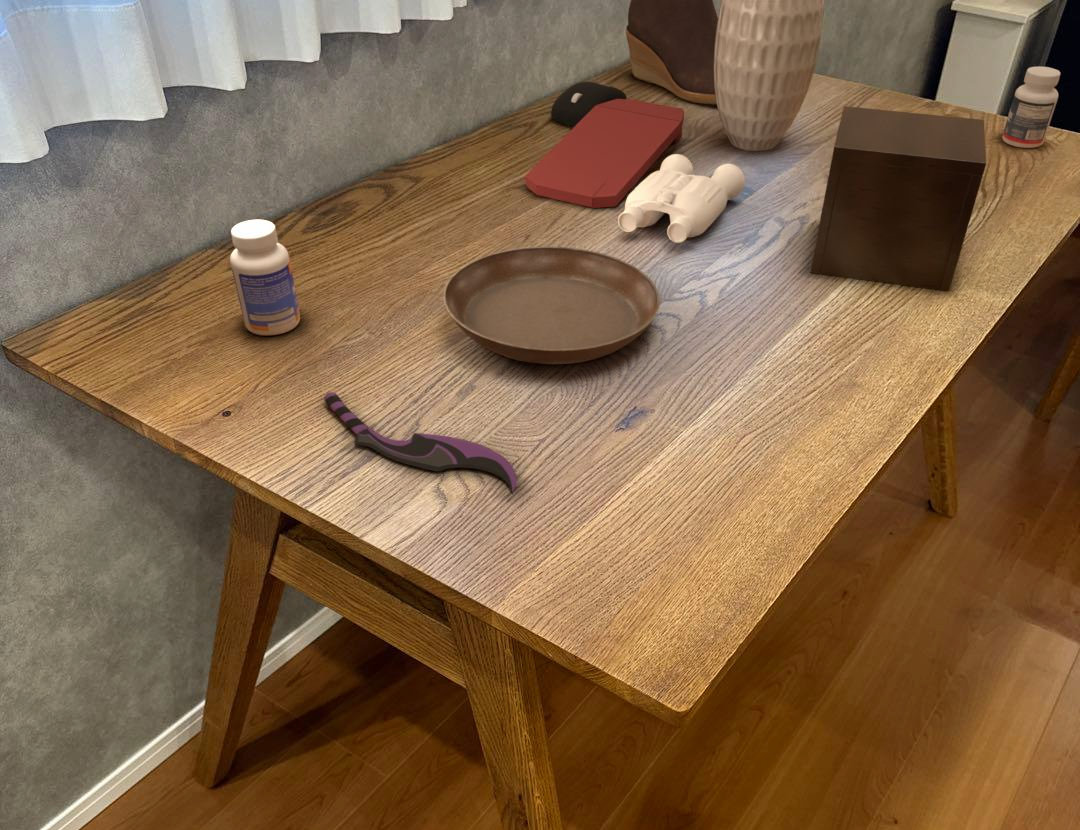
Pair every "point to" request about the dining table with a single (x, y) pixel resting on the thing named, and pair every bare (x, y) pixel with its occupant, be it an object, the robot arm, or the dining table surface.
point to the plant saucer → (551, 303)
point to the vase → (764, 66)
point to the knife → (426, 447)
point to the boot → (674, 46)
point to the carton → (606, 152)
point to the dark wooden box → (899, 197)
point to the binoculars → (681, 198)
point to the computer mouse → (582, 101)
